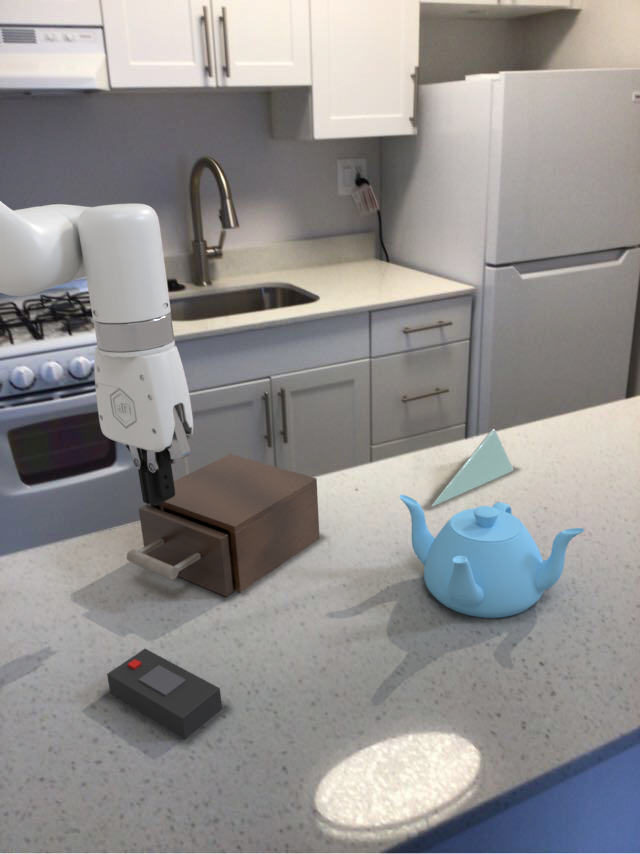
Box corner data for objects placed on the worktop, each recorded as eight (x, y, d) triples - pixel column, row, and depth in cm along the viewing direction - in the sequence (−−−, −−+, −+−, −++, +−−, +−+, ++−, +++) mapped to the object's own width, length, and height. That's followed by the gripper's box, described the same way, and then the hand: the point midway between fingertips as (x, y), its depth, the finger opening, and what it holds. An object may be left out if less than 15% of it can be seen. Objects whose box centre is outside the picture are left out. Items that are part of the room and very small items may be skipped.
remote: (186, 746, 64) (181, 715, 63) (111, 700, 70) (106, 671, 69) (223, 715, 68) (219, 685, 66) (148, 673, 73) (144, 645, 72)
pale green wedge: (478, 524, 98) (528, 454, 110) (438, 494, 99) (492, 427, 111) (452, 556, 103) (502, 486, 115) (414, 527, 105) (468, 460, 117)
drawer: (194, 619, 80) (186, 558, 77) (113, 581, 88) (104, 525, 85) (302, 545, 93) (299, 492, 91) (224, 518, 101) (219, 468, 99)
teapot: (511, 550, 92) (515, 473, 88) (583, 619, 78) (591, 531, 75) (398, 572, 89) (397, 493, 85) (453, 648, 75) (455, 557, 71)
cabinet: (241, 598, 85) (234, 526, 82) (154, 561, 93) (145, 494, 90) (320, 543, 96) (316, 478, 92) (235, 514, 104) (230, 453, 101)
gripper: (58, 334, 77) (88, 497, 83) (156, 351, 68) (181, 531, 75) (117, 319, 82) (141, 473, 89) (215, 332, 74) (233, 502, 80)
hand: (159, 499), depth 82 cm, fingers closed
